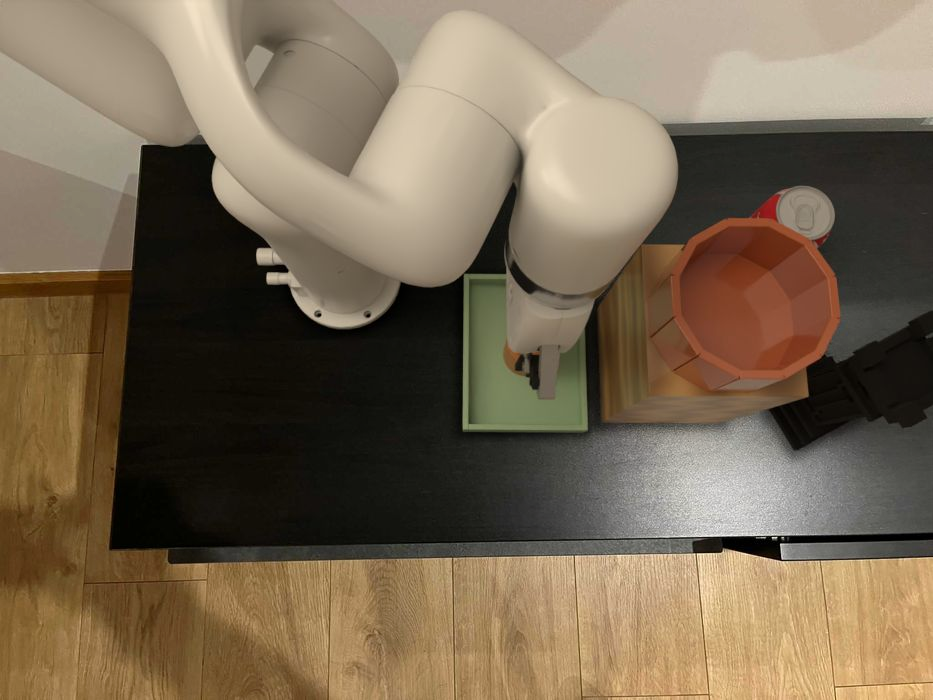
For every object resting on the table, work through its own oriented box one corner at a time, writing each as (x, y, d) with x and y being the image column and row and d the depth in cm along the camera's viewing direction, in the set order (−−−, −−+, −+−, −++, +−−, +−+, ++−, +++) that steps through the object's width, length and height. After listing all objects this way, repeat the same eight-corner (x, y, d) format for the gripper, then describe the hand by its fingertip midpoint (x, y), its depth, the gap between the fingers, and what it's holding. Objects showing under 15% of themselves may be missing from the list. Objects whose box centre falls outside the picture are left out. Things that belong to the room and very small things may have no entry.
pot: (652, 392, 56) (676, 378, 50) (645, 247, 59) (666, 217, 53) (805, 393, 56) (848, 379, 50) (790, 248, 59) (830, 218, 53)
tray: (462, 431, 75) (462, 429, 73) (463, 280, 79) (463, 273, 77) (583, 432, 75) (588, 430, 73) (579, 281, 79) (583, 274, 77)
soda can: (786, 228, 81) (841, 182, 69) (786, 286, 79) (842, 249, 67) (725, 223, 81) (770, 175, 69) (724, 280, 79) (769, 242, 67)
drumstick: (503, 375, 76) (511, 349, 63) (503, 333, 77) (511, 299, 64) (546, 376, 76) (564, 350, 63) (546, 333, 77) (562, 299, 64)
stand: (601, 422, 76) (648, 395, 56) (597, 307, 78) (641, 244, 59) (719, 423, 76) (809, 396, 56) (711, 308, 78) (794, 245, 59)
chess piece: (794, 450, 75) (910, 433, 56) (754, 385, 77) (853, 347, 57) (855, 416, 76) (991, 388, 56) (814, 353, 77) (933, 304, 58)
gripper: (505, 121, 46) (489, 220, 63) (506, 379, 42) (489, 411, 59) (617, 123, 46) (572, 222, 63) (628, 380, 43) (577, 412, 59)
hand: (532, 313), depth 61 cm, fingers open, 9 cm apart
